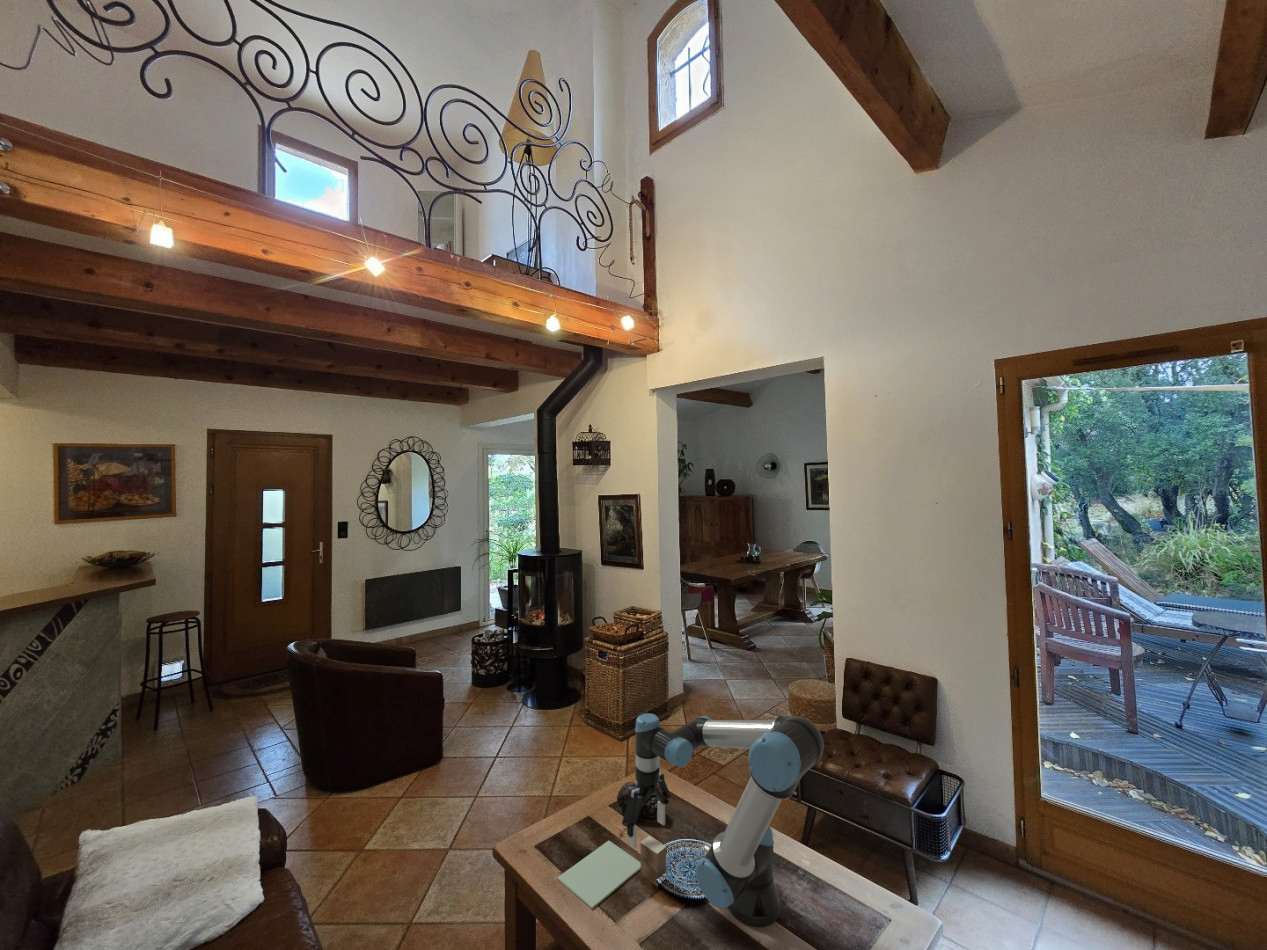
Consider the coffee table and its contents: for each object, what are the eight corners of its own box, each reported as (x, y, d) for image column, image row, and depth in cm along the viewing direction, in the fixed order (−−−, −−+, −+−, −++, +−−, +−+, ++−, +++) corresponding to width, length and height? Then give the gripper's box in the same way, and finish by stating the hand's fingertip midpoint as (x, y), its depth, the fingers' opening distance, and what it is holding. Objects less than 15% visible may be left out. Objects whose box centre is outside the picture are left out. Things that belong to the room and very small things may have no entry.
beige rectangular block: (666, 879, 155) (665, 846, 155) (657, 886, 152) (657, 853, 152) (649, 867, 160) (648, 835, 160) (640, 874, 157) (640, 842, 157)
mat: (643, 866, 160) (643, 864, 160) (591, 909, 144) (591, 907, 144) (608, 842, 171) (608, 840, 171) (557, 879, 155) (557, 877, 155)
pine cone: (660, 826, 179) (660, 797, 179) (613, 816, 184) (613, 789, 184) (667, 808, 189) (667, 781, 189) (622, 799, 194) (622, 773, 194)
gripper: (663, 746, 170) (663, 809, 170) (610, 778, 152) (610, 849, 151) (681, 754, 164) (681, 819, 164) (628, 789, 146) (628, 862, 146)
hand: (647, 834), depth 158 cm, fingers open, 13 cm apart
